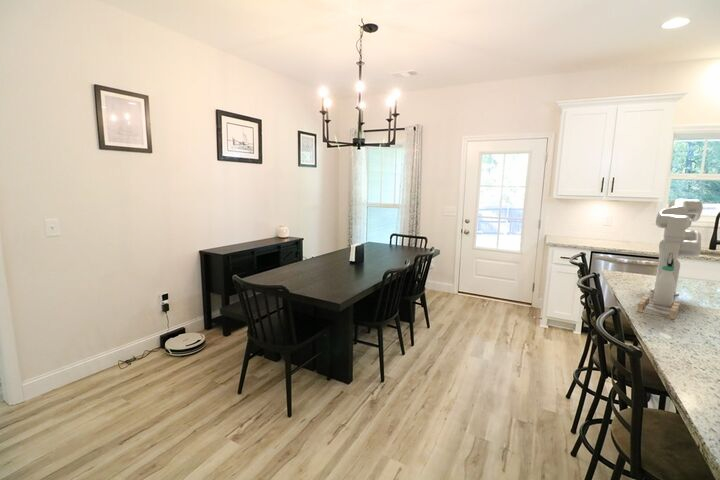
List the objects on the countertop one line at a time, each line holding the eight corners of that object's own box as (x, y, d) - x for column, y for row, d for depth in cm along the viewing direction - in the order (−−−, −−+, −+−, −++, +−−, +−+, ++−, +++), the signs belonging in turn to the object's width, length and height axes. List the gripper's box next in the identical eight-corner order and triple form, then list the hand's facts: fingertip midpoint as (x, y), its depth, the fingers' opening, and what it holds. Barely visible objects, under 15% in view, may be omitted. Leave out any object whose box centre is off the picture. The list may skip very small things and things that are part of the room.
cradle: (643, 302, 184) (645, 294, 184) (679, 309, 174) (680, 301, 174) (636, 310, 171) (637, 303, 170) (674, 319, 161) (676, 310, 160)
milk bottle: (675, 307, 178) (682, 269, 174) (658, 305, 179) (664, 268, 176) (665, 302, 185) (671, 265, 182) (649, 300, 186) (655, 264, 183)
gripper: (666, 237, 190) (661, 270, 193) (663, 240, 180) (657, 274, 183) (685, 239, 184) (679, 272, 187) (682, 242, 174) (676, 277, 177)
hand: (668, 273), depth 185 cm, fingers closed
